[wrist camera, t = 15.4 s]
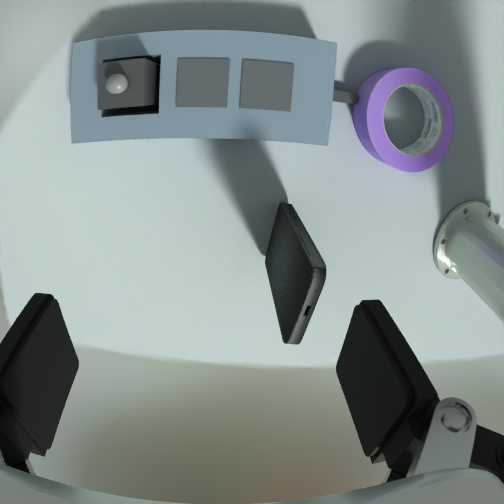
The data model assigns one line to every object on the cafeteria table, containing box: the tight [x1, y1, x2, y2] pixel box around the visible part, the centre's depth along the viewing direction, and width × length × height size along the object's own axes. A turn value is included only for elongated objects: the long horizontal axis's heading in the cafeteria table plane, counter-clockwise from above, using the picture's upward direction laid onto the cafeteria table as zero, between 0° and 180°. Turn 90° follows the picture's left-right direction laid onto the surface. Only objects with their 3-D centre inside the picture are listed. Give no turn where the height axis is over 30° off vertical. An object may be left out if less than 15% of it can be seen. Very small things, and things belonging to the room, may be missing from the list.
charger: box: [97, 58, 161, 110], centre depth 24 cm, size 4×4×9 cm
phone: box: [265, 202, 326, 344], centre depth 30 cm, size 8×1×15 cm, turn 168°
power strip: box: [71, 30, 358, 146], centre depth 27 cm, size 28×10×5 cm, turn 86°
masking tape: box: [353, 67, 454, 172], centre depth 30 cm, size 12×12×4 cm
